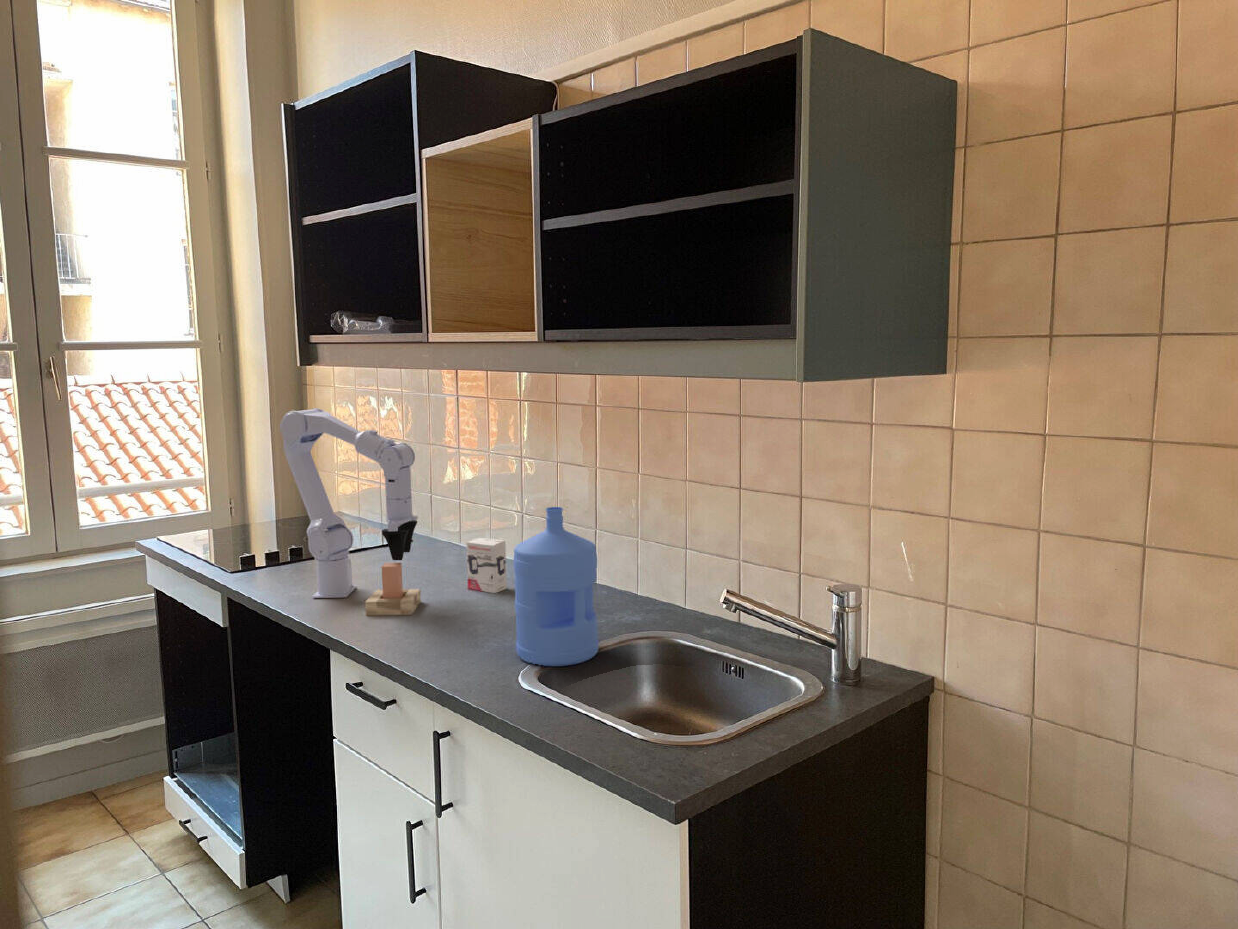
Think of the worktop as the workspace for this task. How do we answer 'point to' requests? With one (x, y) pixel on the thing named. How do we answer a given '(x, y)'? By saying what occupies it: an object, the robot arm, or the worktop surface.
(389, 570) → the peg
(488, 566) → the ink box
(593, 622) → the water jug
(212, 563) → the worktop surface
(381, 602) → the socket block
